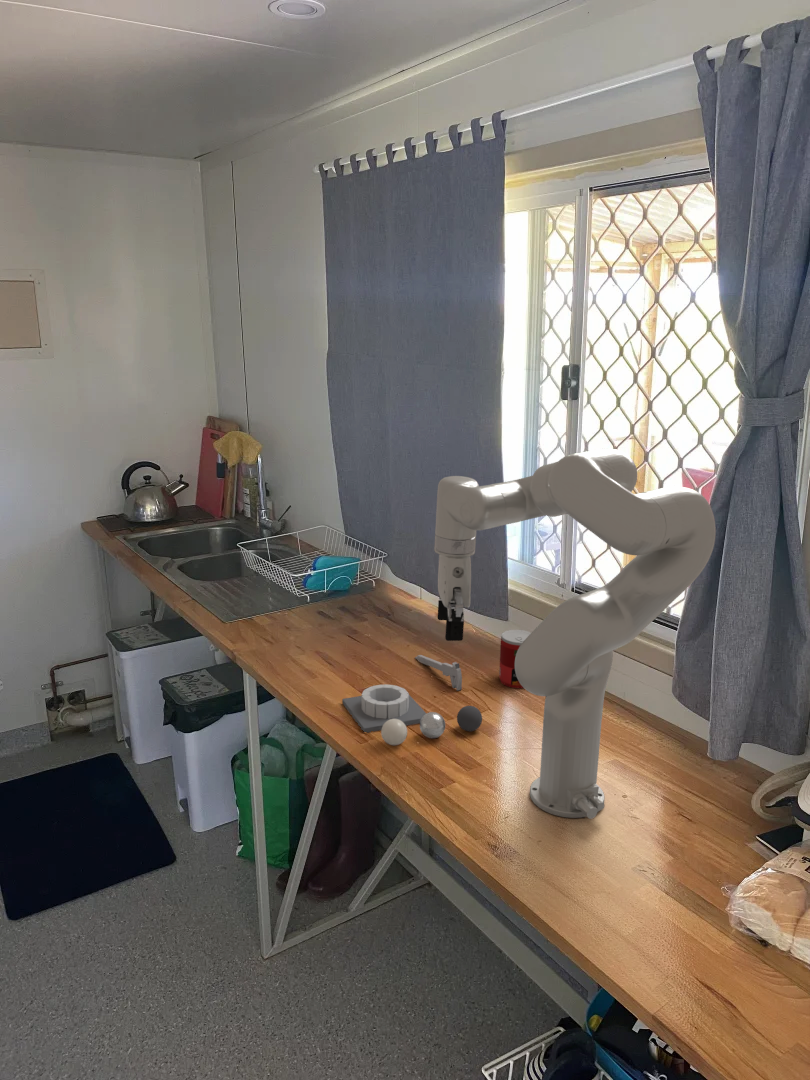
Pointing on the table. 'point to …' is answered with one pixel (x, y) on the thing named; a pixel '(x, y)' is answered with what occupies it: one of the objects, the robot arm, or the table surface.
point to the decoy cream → (394, 731)
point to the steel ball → (432, 725)
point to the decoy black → (469, 718)
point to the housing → (383, 707)
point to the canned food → (510, 656)
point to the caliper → (445, 670)
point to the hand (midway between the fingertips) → (449, 629)
